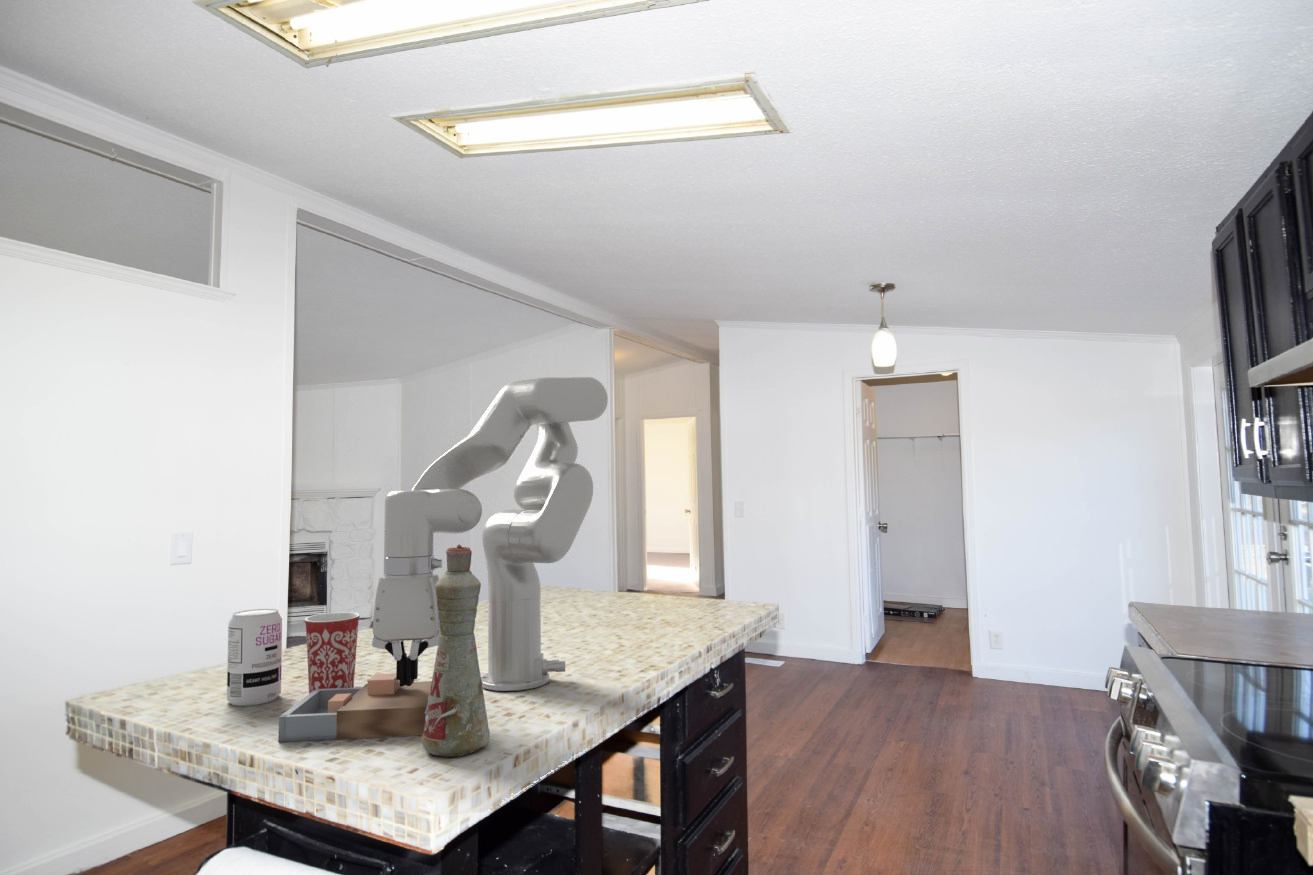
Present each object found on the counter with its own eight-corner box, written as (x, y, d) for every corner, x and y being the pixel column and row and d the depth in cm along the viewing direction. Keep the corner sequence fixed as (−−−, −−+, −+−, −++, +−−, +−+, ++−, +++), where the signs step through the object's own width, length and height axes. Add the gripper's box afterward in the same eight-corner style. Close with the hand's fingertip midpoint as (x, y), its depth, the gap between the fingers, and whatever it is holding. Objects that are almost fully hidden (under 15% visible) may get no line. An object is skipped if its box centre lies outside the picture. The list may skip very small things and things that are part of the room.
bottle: (485, 758, 99) (484, 545, 101) (415, 761, 99) (416, 547, 100) (494, 736, 108) (493, 541, 110) (429, 739, 107) (430, 542, 109)
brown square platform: (447, 705, 124) (447, 680, 124) (428, 734, 109) (428, 706, 110) (366, 708, 123) (366, 683, 123) (336, 739, 108) (336, 710, 108)
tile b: (400, 686, 121) (400, 673, 121) (393, 693, 117) (393, 679, 117) (375, 687, 120) (375, 674, 121) (367, 694, 116) (367, 680, 117)
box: (366, 708, 123) (366, 686, 123) (336, 739, 108) (336, 714, 108) (315, 710, 122) (315, 689, 122) (278, 742, 107) (278, 717, 107)
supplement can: (240, 694, 133) (241, 608, 134) (288, 692, 134) (289, 607, 134) (217, 708, 125) (219, 616, 126) (268, 705, 125) (270, 615, 126)
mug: (354, 698, 129) (355, 619, 130) (297, 702, 127) (298, 622, 128) (366, 680, 141) (367, 607, 142) (315, 683, 140) (316, 610, 140)
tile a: (351, 693, 115) (336, 694, 115) (343, 700, 111) (327, 701, 111) (351, 719, 115) (336, 720, 115) (343, 728, 111) (327, 728, 111)
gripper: (459, 564, 125) (458, 676, 123) (366, 566, 123) (364, 680, 122) (452, 568, 117) (451, 688, 116) (353, 570, 115) (351, 692, 114)
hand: (407, 683), depth 119 cm, fingers closed
